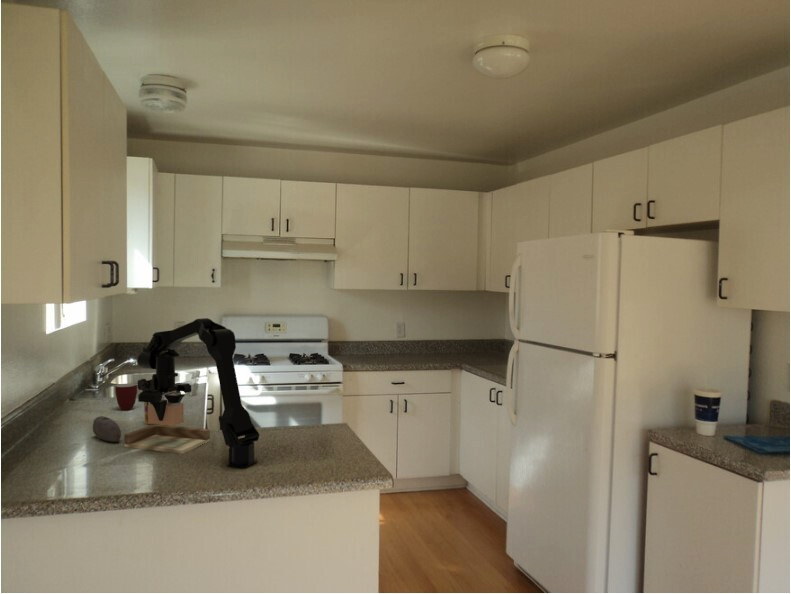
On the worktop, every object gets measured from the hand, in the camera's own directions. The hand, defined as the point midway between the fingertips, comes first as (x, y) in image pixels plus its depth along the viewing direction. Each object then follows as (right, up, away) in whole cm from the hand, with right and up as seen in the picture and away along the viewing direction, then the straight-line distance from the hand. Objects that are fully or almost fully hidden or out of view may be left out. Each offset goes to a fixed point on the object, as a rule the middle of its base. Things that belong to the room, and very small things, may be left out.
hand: (166, 418), depth 191 cm
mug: (-37, -7, +52) cm, 64 cm away
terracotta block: (0, -1, 0) cm, 1 cm away
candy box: (-14, -8, +28) cm, 32 cm away
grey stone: (-22, -9, +7) cm, 25 cm away
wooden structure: (0, -9, +3) cm, 9 cm away
